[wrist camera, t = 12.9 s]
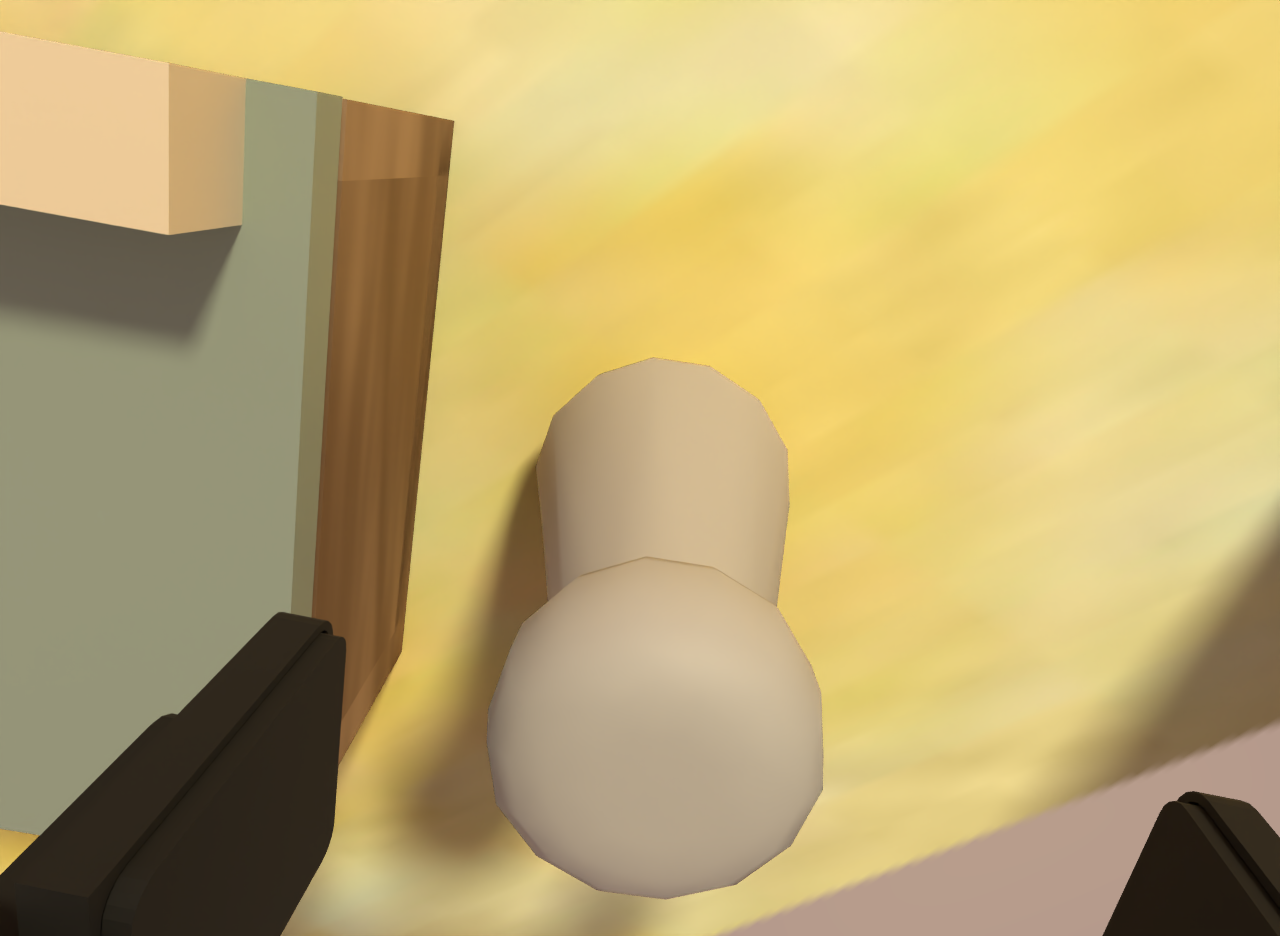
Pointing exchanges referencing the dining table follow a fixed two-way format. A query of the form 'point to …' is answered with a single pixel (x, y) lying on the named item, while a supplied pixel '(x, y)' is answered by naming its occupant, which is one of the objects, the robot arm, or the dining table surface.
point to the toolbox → (377, 384)
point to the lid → (149, 392)
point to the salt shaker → (659, 644)
